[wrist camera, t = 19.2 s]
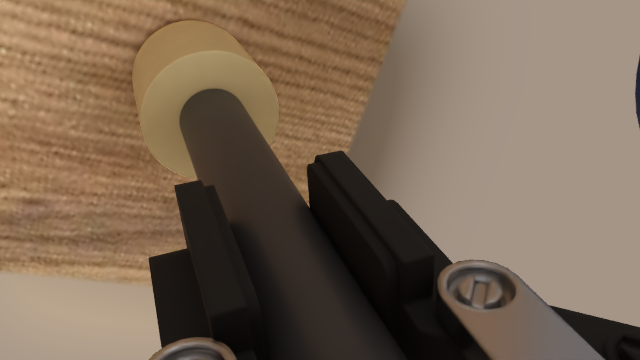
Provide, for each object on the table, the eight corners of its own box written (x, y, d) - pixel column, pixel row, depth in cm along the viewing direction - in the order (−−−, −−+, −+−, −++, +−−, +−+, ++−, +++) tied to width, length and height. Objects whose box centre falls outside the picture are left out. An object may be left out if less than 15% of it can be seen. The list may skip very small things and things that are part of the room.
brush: (243, 12, 20) (540, 291, 7) (256, 121, 22) (502, 499, 9) (119, 28, 19) (184, 400, 6) (145, 142, 21) (238, 610, 8)
